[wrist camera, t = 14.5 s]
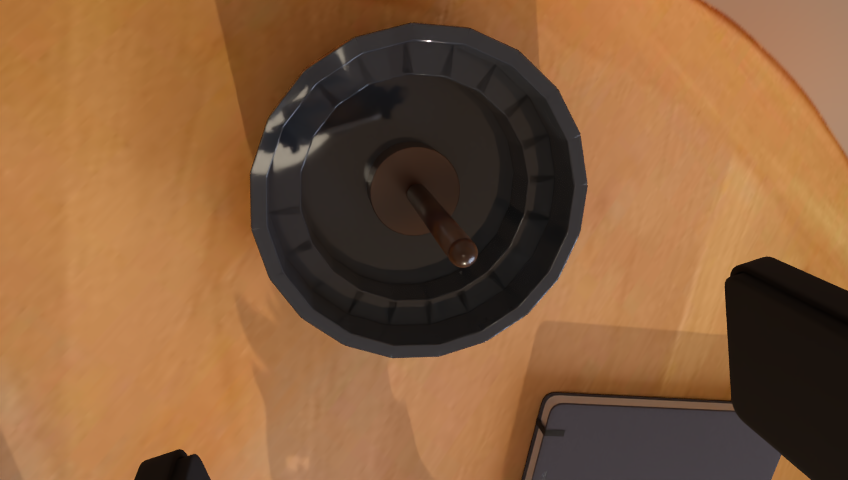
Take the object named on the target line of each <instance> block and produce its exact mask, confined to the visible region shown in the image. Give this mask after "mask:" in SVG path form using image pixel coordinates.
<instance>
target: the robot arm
mask: <svg viewBox="0 0 848 480" xmlns="http://www.w3.org/2000/svg"><path fill="white" fill-rule="evenodd" d="M725 300H726V317H727V334H728V351H729V368H730V385H731V400H732V405H733V408H734V410H735V412H736V414H737V415H738V417H739V418H740V419H741V420H742V421H743V422H744V423H745V424H746V425H747V426H748V427H750V428H751V429H752V430H753V431H754V432H755V433H757V434H758V435H759V436H760V437H761V438H763V439H764V440H765V441H766V442H767V443H768V444H770V445H771V446H772V447H773V448H774V449H776V450H777V451H778V452H779V453H780V454H781V455H783V456H784V457H785V458H786V459H787V460H788V461H790V462H791V463H792V464H793V465H794V466H796V467H797V468H798V469H799V470H800V471H801V472H803V473H804V474H805V475H806V476H807V477H809V478H810V479H811V480H848V291H847V290H844V289H842V288H840V287H838V286H835V285H833V284H831V283H829V282H826V281H824V280H822V279H820V278H817V277H815V276H813V275H811V274H808V273H806V272H804V271H802V270H799V269H797V268H795V267H793V266H790V265H788V264H786V263H784V262H781V261H779V260H777V259H775V258H772V257H762V258H759V259H756V260H753V261H750V262H747V263H744V264H741V265H738V266H736V267H734V268H733V269H732V272H731V275H730V277H729V278H727V279H726V282H725ZM134 480H211V479H210V477H209V475H208V473H207V471H206V469H205V467H204V465H203V463H202V461H201V459H200V458H199V456H198V455H196V454H193V455H190V456H187V454H186V453H185V452H184V451H183V450H180V449H179V450H176V451H172V452H169V453H166V454H163V455H160V456H157V457H154V458H151V459H148V460H145V461H144V462H142V463H141V465H140V467H139V469H138V472H137V474H136V477H135V479H134Z"/></svg>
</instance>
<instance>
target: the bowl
mask: <svg viewBox="0 0 848 480" xmlns="http://www.w3.org/2000/svg"><path fill="white" fill-rule="evenodd" d="M403 142H419V143H423V144H426V145H428V146H430V147H432V148H434V149H435V150H437V151H438V152H439V153H441V154H442V155H443V156H445V157H446V158H447V159H448V160H449V161H450V163H451V164H452V165H453V167H454V168H455V170H456V173H457V175H458V179H459V184H460V195H459V200H458V204H457V206H456V209H455V211H454V212H453V214H452V216H451V217H452V218H453V219H454V220H455V221H456V223H457V224H458V225H459V226H460V227H461V228H462V229H463V231H464V232H465V233H466V234H467V235H468V236H469V237H470V238H471V240H472V241H473V242H474V243H475V244H476V246H477V249H478V256H477V259H476V261H475V262H474V263H473V264H472V265H471V266H469V267H465V268H461V267H457V266H455V265H454V264H452V263H451V261H450V260H449V258H448V257H447V256H446V254H445V253H444V251H443V250H442V248H441V247H440V245H439V244H438V242H437V241H436V240H435V238H434V237H433V235H432V234H431V232H430V233H427V234H423V235H417V236H409V235H403V234H400V233H397V232H395V231H392V230H391V229H389V228H388V227H386V226H385V225H384V224H383V223H382V222H381V221H380V220H379V218H378V217H377V216H376V214H375V212H374V210H373V207H372V205H371V203H370V200H369V197H368V193H367V179H368V174H369V171H370V168H371V166H372V164H373V163H374V161H375V160H376V158H377V157H378V156H379V155H380V154H381V153H382V152H383V151H385V150H386V149H388V148H389V147H391V146H393V145H396V144H399V143H403ZM250 173H251V174H250V201H251V228H252V229H251V230H252V233H253V236H254V238H255V241H256V244H257V246H258V249H259V252H260V255H261V257H262V260H263V263H264V265H265V268H266V271H267V274H268V276H269V278H270V280H271V281H272V283H273V284H274V285H275V286H276V288H277V289H278V290H279V291H280V292H281V294H282V295H283V296H284V297H285V299H286V300H287V301H288V302H289V304H290V305H291V306H292V307H293V308H294V310H295V311H296V312H297V313H298V315H299V316H300V317H301V318H303V319H304V320H305V321H307V322H308V323H310V324H312V325H313V326H315V327H316V328H318V329H319V330H321V331H323V332H324V333H326V334H327V335H329V336H330V337H332V338H334V339H335V340H337V341H338V342H340V343H341V344H343V345H345V346H349V347H352V348H356V349H360V350H364V351H367V352H371V353H375V354H379V355H382V356H386V357H390V358H411V357H439V356H443V355H446V354H449V353H452V352H455V351H458V350H461V349H465V348H468V347H471V346H474V345H477V344H480V343H483V342H485V341H488V340H489V339H491V338H492V337H494V336H495V335H497V334H498V333H500V332H502V331H503V330H505V329H506V328H508V327H509V326H511V325H512V324H514V323H515V322H517V321H518V320H520V319H521V318H523V317H524V316H526V315H527V314H528V313H529V312H530V311H531V310H532V309H533V307H534V306H535V305H536V304H537V303H538V302H539V301H540V299H541V298H542V297H543V296H544V295H545V294H546V293H547V291H548V290H549V289H550V288H551V287H552V286H553V285H554V283H555V282H556V281H557V280H558V279H559V277H560V275H561V272H562V270H563V268H564V266H565V264H566V262H567V260H568V258H569V256H570V254H571V251H572V249H573V247H574V245H575V243H576V241H577V239H578V237H579V233H580V231H581V224H582V218H583V212H584V206H585V199H586V193H587V187H588V185H587V177H586V170H585V163H584V156H583V150H582V143H581V136H580V132H579V130H578V128H577V126H576V124H575V122H574V120H573V118H572V116H571V114H570V112H569V110H568V108H567V106H566V104H565V102H564V100H563V98H562V96H561V94H560V92H559V90H558V89H557V88H556V86H555V85H554V84H553V83H552V82H551V81H550V80H549V79H548V78H547V77H545V76H544V75H543V74H542V73H541V72H540V71H539V70H538V69H537V68H536V67H535V66H534V65H533V64H532V63H531V62H530V61H529V60H528V59H527V58H526V57H525V56H524V55H523V54H522V53H521V52H519V50H517V49H514V48H512V47H510V46H508V45H506V44H504V43H502V42H499V41H497V40H495V39H493V38H491V37H489V36H486V35H484V34H482V33H480V32H478V31H476V30H473V29H471V28H468V27H457V26H446V25H435V24H423V23H408V24H404V25H400V26H396V27H392V28H388V29H384V30H380V31H377V32H373V33H369V34H365V35H361V36H357V37H354V38H351V39H348V40H347V41H345V42H343V43H342V44H340V45H339V46H337V47H336V48H334V49H333V50H331V51H330V52H328V53H327V54H325V55H324V56H322V57H321V58H319V59H318V60H316V61H315V62H313V63H312V64H310V65H309V66H307V67H306V68H305V69H304V70H303V71H302V72H301V74H300V75H299V76H298V78H297V79H296V80H295V82H294V83H293V84H292V86H291V87H290V88H289V89H288V91H287V92H286V93H285V95H284V96H283V97H282V99H281V100H280V101H279V103H278V104H277V105H276V107H275V108H274V110H273V111H272V113H271V114H270V116H269V118H268V120H267V123H266V126H265V129H264V132H263V135H262V138H261V141H260V144H259V147H258V150H257V153H256V156H255V159H254V162H253V165H252V168H251V171H250Z"/></svg>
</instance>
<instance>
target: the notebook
mask: <svg viewBox="0 0 848 480" xmlns="http://www.w3.org/2000/svg"><path fill="white" fill-rule="evenodd" d="M780 456H781V454H780V453H779V452H778V451H777V450H776V449H774V448H773V447H772V446H771V445H770V444H768V443H767V442H766V441H765V440H764V439H763V438H761V437H760V436H759V435H758V434H757V433H755V432H754V431H753V430H752V429H751V428H750V427H748V426H747V425H746V424H745V423H744V422H743V421H742V420H741V419H740V418H739V417H738V415H737V414H736V412H735V410H734V408H733V405H732V401H716V400H696V399H676V398H656V397H636V396H616V395H596V394H576V393H550V394H548V395H546V397H545V398H544V399H543V401H542V404H541V408H540V411H539V415H538V418H537V421H536V427H535V431H534V434H533V438H532V442H531V446H530V450H529V453H528V457H527V461H526V465H525V469H524V473H523V476H522V480H771V479H772V476H773V474H774V471H775V469H776V466H777V464H778V461H779V459H780Z"/></svg>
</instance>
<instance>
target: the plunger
mask: <svg viewBox="0 0 848 480" xmlns="http://www.w3.org/2000/svg"><path fill="white" fill-rule="evenodd" d="M367 193H368V197H369V200H370V203H371V205H372V207H373V210H374V212H375V214H376V216H377V217H378V218H379V220H380V221H381V222H382V223H383V224H384V225H385V226H386V227H388V228H389V229H391V230H392V231H395V232H397V233H400V234H403V235H409V236H417V235H423V234H427V233H430V232H431V234H432V235H433V237H434V238H435V240H436V241H437V242H438V244H439V245H440V247H441V248H442V250H443V251H444V253H445V254H446V256H447V257H448V258H449V260H450V261H451V263H452V264H454V265H455V266H457V267H461V268H465V267H469V266H471V265H472V264H473V263H474V262H475V261H476V259H477V256H478V249H477V246H476V244H475V243H474V242H473V241H472V240H471V238H470V237H469V236H468V235H467V234H466V233H465V232H464V231H463V229H462V228H461V227H460V226H459V225H458V224H457V223H456V221H455V220H454V219H453V218H452V217H451V216H452V214H453V212H454V211H455V209H456V206H457V204H458V200H459V195H460V184H459V179H458V175H457V173H456V170H455V168H454V167H453V165H452V164H451V163H450V161H449V160H448V159H447V158H446V157H445V156H443V155H442V154H441V153H439V152H438V151H437V150H435V149H434V148H432V147H430V146H428V145H426V144H423V143H419V142H403V143H399V144H396V145H393V146H391V147H389V148H388V149H386V150H385V151H383V152H382V153H381V154H380V155H379V156H378V157H377V158H376V160H375V161H374V163H373V164H372V166H371V168H370V171H369V174H368V179H367Z"/></svg>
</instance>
